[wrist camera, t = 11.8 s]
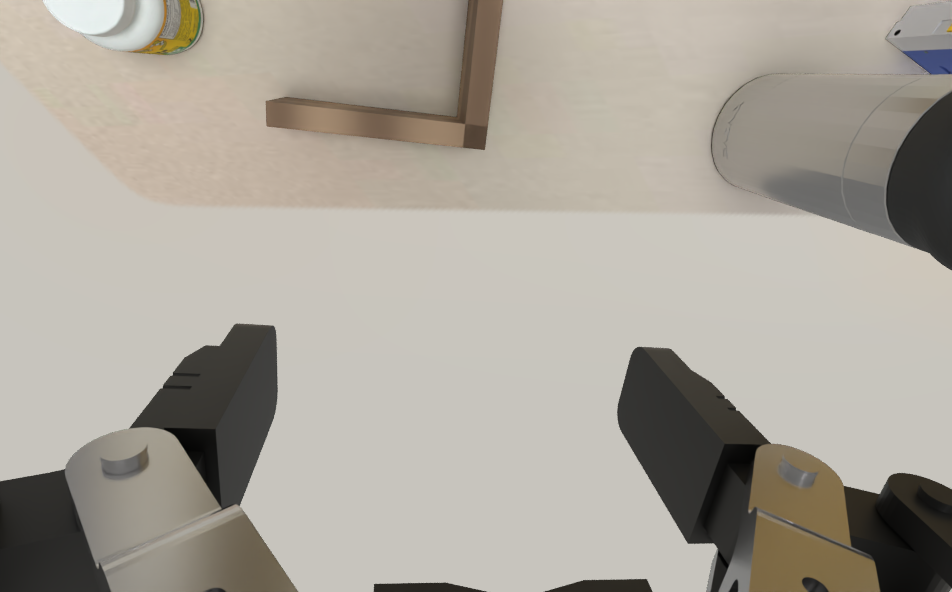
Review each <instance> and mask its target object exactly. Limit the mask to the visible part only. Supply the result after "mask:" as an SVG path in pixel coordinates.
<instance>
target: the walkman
mask: <svg viewBox="0 0 952 592" xmlns="http://www.w3.org/2000/svg"><path fill="white" fill-rule="evenodd" d="M886 39H887V40H888V41H889V42H890V43H892V44H893V45H894V46H896V47H897V48H898V49H899V50H901V51H902V52H904V53H905V54H906V55H907V56H909V57H910V58H911V59H913V60H914V61H915V62H916V63H918V64H919V65H920V66H922V67H923V68H924V69H925V70H927V71H928V72H929V73H931V74H932V75H938V74H952V1H948V2H940V3H933V4H925V5H918V6H910V8H909V9H908V11H907V12H906V14H905V15H904V16H903V18H902V19H901V21H900V22H897V23H896V24H895V26H894V27H893V29H892V30H891V31H890V33H889V34H888V36H887V37H886Z"/></svg>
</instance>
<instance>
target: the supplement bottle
mask: <svg viewBox="0 0 952 592" xmlns="http://www.w3.org/2000/svg"><path fill="white" fill-rule="evenodd" d="M43 2H44V4H45V6H46V7H47V9H48V10H49V12H50V13H51V14H52V15H53V16H54V17H55V18H56V19H57V20H58V21H59V22H61V23H62V24H63V25H65V26H66V27H68V28H70V29H71V30H74V31H76V32H79V33H80V34H81V35H83V36H84V37H85V38H87V39H88V40H90V41H91V42H93V43H95V44H97V45H99V46H101V47H103V48H106V49H110V50H114V51H122V52H135V53H148V54H160V55H172V54H177V53H180V52H183V51H185V50H187V49H189V48H190V47H192V46H193V45H194V44H195V43H196V42H197V40H198V39H199V37H200V34H201V31H202V27H203V13H202V8H201V4H200V2H199V0H43Z"/></svg>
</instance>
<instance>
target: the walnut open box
mask: <svg viewBox="0 0 952 592" xmlns="http://www.w3.org/2000/svg"><path fill="white" fill-rule="evenodd" d="M502 5H503V0H469V1H468V11H467V21H466V31H465V41H464V51H463V61H462V71H461V81H460V91H459V101H458V111H457V117H451V116H443V115H434V114H426V113H417V112H409V111H400V110H392V109H383V108H374V107H366V106H357V105H349V104H340V103H332V102H323V101H315V100H306V99H298V98H289V97H284V98H279V99H274V100H269V101H266V123H267V126H268V127H277V128H287V129H296V130H305V131H314V132H324V133H333V134H342V135H351V136H361V137H370V138H379V139H388V140H398V141H407V142H416V143H426V144H435V145H444V146H453V147H463V148H472V149H481V150H485V144H486V136H487V128H488V120H489V111H490V103H491V95H492V87H493V79H494V70H495V62H496V54H497V46H498V38H499V29H500V21H501V13H502Z"/></svg>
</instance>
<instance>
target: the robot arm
mask: <svg viewBox="0 0 952 592" xmlns="http://www.w3.org/2000/svg"><path fill="white" fill-rule="evenodd" d="M712 153H713V158H714V162H715V165H716V167H717V169H718V171H719V173H720V174H721V175H722V176H723V177H724V179H725V180H726V181H728V182H729V183H731V184H732V185H734V186H736V187H739V188H742V189H745V190H748V191H751V192H753V193H756V194H759V195H762V196H764V197H767V198H770V199H773V200H776V201H778V202H781V203H784V204H787V205H790V206H793V207H796V208H799V209H802V210H805V211H808V212H811V213H813V214H816V215H819V216H822V217H825V218H828V219H831V220H834V221H837V222H840V223H843V224H846V225H848V226H852V227H854V228H857V229H860V230H863V231H866V232H869V233H872V234H876V235H878V236H881V237H884V238H887V239H890V240H893V241H896V242H899V243H902V244H905V245H908V246H911V247H913V248H917V249H919V250H922V251H925V252H928V253H930V254H931V255H932V256H933V257H934V258H935V259H936V260H937V261H939V262H940V263H941V264H942V265H944V266H946V267H947V268H949V269H950V270H952V74H938V75H920V74H770V75H765V76H762V77H759V78H756V79H754V80H752V81H751V82H749V83H747V84H745V85H744V86H743V87H742V88H740V89H739V90H738V91H737V92H736V93H734V95H733V96H732V97H731V98H730V99H729V101H728V102H727V103H726V104H725V106H724V108H723V109H722V111H721V113H720V115H719V117H718V119H717V122H716V125H715V127H714V132H713V138H712ZM277 389H278V388H277V347H276V330H275V327H274V326H269V325H252V324H235V325H234V326H233V328H232V329H231V331H230V332H229V333H228V335H227V336H226V338H225V339H224V341H223V342H222V344H221V345H220V346H204V347H202V348H200V349H199V350H197V351H195V352H194V353H192V354H190V355H189V356H187V357H185V358H184V359H183V361H182V362H181V363H180V364H179V366H178V367H177V368H176V370H175V371H174V372H173V376H170V377H169V378H168V380H167V381H166V382H165V383H164V385H163V389H160V390H159V391H158V392H157V394H156V395H155V396H154V397H153V399H152V400H151V401H150V403H149V404H148V405H147V406H146V408H145V409H144V410H143V412H142V413H141V414H140V415H139V417H138V418H137V419H136V421H135V422H134V423H133V424H132V426H131V427H130V428H129V429H124V430H120V431H116V432H112V433H109V434H107V435H104V436H101V437H99V438H97V439H95V440H93V441H91V442H89V443H88V444H86V445H84V446H83V447H82V448H80V449H79V450H78V451H77V452H76V453H74V454H73V456H72V457H71V458H70V460H69V461H68V463H67V465H66V468H65V469H64V470H61V471H55V472H50V473H45V474H39V475H34V476H28V477H23V478H17V479H12V480H6V481H0V592H298V591H297V589H296V588H295V586H294V585H293V583H292V582H291V580H290V579H289V577H288V576H287V575H286V573H285V571H284V570H283V568H282V567H281V565H280V564H279V563H278V561H277V560H276V558H275V557H274V555H273V554H272V552H271V551H270V549H269V548H268V546H267V545H266V543H265V542H264V540H263V539H262V537H261V536H260V534H259V533H258V531H257V530H256V529H255V527H254V525H253V524H252V522H251V521H250V520H249V518H248V517H247V515H246V514H245V512H244V511H243V510H242V508H241V507H240V504H241V501H242V498H243V496H244V493H245V491H246V488H247V486H248V483H249V481H250V478H251V475H252V473H253V470H254V467H255V465H256V463H257V460H258V457H259V455H260V452H261V450H262V447H263V445H264V442H265V439H266V437H267V434H268V431H269V429H270V426H271V424H272V421H273V419H274V415H275V410H276V404H277V392H278V390H277ZM617 413H618V423H619V427H620V430H621V432H622V433H623V435H624V437H625V438H626V440H627V441H628V443H629V445H630V447H631V448H632V450H633V452H634V454H635V455H636V457H637V459H638V460H639V462H640V464H641V465H642V466H643V469H644V470H645V472H646V474H647V475H648V477H649V479H650V480H651V482H652V484H653V486H654V487H655V489H656V491H657V492H658V494H659V496H660V497H661V499H662V501H663V502H664V504H665V506H666V507H667V509H668V511H669V512H670V514H671V516H672V518H673V519H674V521H675V522H676V524H677V526H678V528H679V529H680V531H681V533H682V534H683V536H684V538H685V539H686V541H687V543H688V544H693V543H694V544H696V543H697V544H699V543H714V544H715V545H716V546H717V548H718V549H717V551H716V554H715V556H714V559H713V561H712V565H711V570H710V575H709V580H708V585H707V590H706V592H949V591H950V590H951V588H952V489H950V488H948V487H946V486H944V485H942V484H940V483H937V482H935V481H932V480H930V479H927V478H924V477H921V476H917V475H913V474H906V473H897V474H893V475H891V476H890V477H889V478H888V480H887V482H886V484H885V485H884V488H883V489H882V491H881V493H880V494H876V493H872V492H867V491H863V490H859V489H855V488H851V487H846V486H843V483H842V481H841V479H840V477H839V476H838V475H837V474H836V473H835V472H834V471H833V470H832V469H831V468H830V467H829V466H828V465H827V464H825V463H824V462H822V461H821V460H819V459H818V458H816V457H814V456H812V455H810V454H808V453H806V452H804V451H801V450H799V449H796V448H793V447H790V446H786V445H781V444H771V443H770V442H769V441H768V440H767V439H766V438H765V437H764V436H763V435H762V434H761V433H760V432H759V431H758V430H757V429H756V428H755V427H754V426H753V425H752V424H751V423H750V422H749V421H748V420H747V419H746V418H745V417H744V416H743V415H742V414H741V413H740V412H739V411H736V408H735V406H733V405H732V404H731V402H730V401H729V400H728V399H725V397H724V395H723V394H722V393H721V392H720V391H719V390H718V389H717V388H716V387H715V386H714V385H713V384H712V383H711V382H709V381H708V380H706V379H705V378H703V377H701V376H700V375H698V374H697V373H695V372H693V371H692V370H690V368H689V367H688V366H687V365H686V364H685V363H684V362H683V361H682V360H681V359H680V358H679V357H678V356H677V355H676V354H675V353H674V352H673V351H672V350H671V349H668V348H652V347H637V348H635V349H634V351H633V352H632V355H631V358H630V361H629V365H628V369H627V373H626V376H625V380H624V384H623V388H622V391H621V396H620V399H619V403H618V411H617ZM374 592H486V591H481V590H476V589H472V588H467V587H463V586H458V585H453V584H449V583H403V584H374ZM545 592H652V590H651V587H650V585H649V583H648V581H647V579H629V580H628V579H627V580H583V581H580V582H576V583H573V584H569V585H566V586H562V587H559V588H555V589H552V590H549V591H545Z"/></svg>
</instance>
